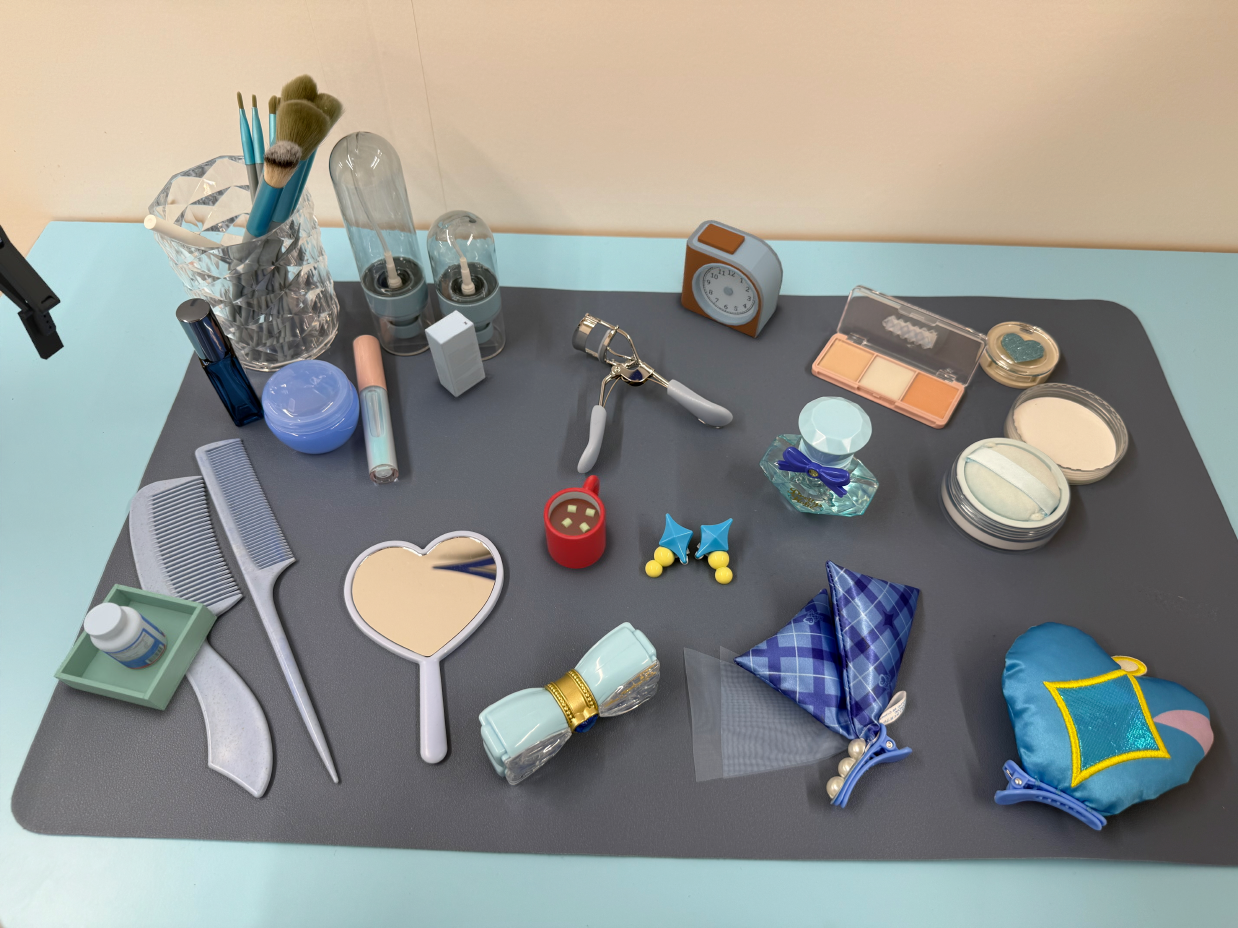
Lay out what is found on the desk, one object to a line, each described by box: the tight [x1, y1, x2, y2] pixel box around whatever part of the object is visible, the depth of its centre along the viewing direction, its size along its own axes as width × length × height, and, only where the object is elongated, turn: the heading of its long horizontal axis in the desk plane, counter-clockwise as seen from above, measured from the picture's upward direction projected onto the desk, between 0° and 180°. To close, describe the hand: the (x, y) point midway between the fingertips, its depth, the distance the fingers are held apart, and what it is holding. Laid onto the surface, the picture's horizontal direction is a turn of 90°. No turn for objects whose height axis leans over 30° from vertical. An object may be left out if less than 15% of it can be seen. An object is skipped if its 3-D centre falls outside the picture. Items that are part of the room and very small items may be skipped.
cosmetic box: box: [424, 309, 486, 398], centre depth 116 cm, size 6×4×12 cm
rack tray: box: [53, 583, 218, 712], centre depth 94 cm, size 12×12×4 cm
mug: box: [543, 474, 606, 570], centre depth 102 cm, size 8×12×8 cm, turn 164°
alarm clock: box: [680, 219, 784, 339], centre depth 125 cm, size 15×8×14 cm, turn 58°
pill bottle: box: [83, 602, 167, 669], centre depth 91 cm, size 6×5×10 cm
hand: (1, 335), depth 91 cm, fingers open, 13 cm apart
